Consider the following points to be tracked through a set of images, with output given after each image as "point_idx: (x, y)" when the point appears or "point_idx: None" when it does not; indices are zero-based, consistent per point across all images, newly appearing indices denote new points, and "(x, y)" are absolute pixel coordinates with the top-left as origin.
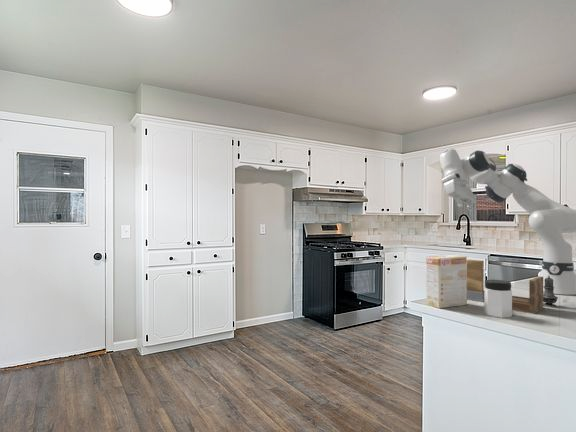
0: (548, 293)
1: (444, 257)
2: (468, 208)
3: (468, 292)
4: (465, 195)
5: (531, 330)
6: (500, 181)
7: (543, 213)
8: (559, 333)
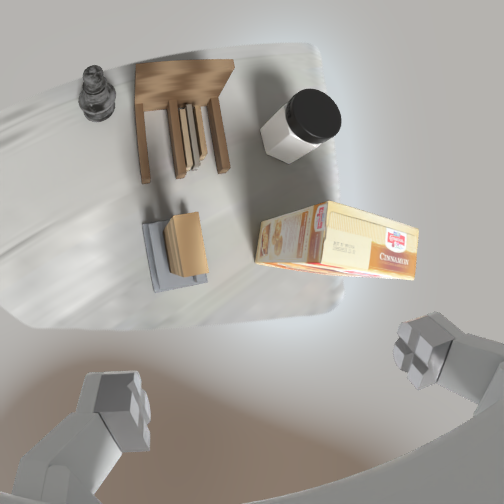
0: (106, 89)
1: (397, 231)
2: (144, 419)
3: None
4: (408, 492)
5: (323, 79)
6: None
7: None
8: (304, 52)
